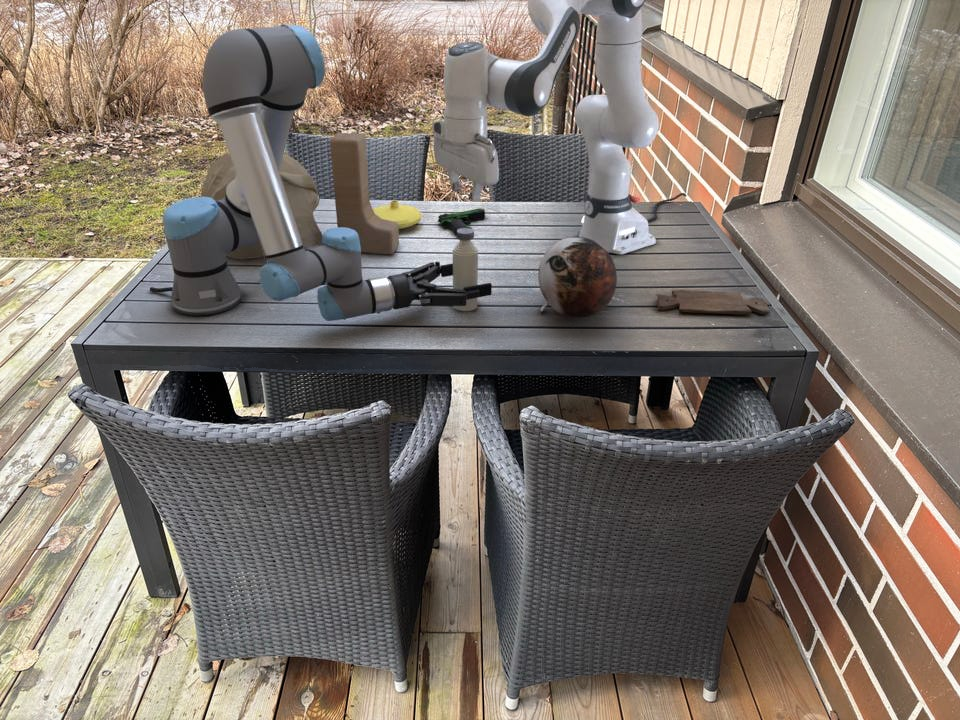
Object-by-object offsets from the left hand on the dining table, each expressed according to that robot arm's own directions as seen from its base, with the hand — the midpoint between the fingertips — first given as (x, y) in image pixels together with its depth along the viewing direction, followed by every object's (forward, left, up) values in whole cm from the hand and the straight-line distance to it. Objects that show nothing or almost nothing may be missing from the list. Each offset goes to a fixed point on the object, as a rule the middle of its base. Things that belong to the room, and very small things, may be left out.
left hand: (478, 277), depth 164 cm
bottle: (-3, -1, -7) cm, 7 cm away
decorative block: (-30, +32, -7) cm, 45 cm away
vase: (-25, +51, -7) cm, 57 cm away
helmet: (-58, +33, -7) cm, 67 cm away
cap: (-3, -1, +11) cm, 12 cm away
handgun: (-4, +51, -7) cm, 52 cm away
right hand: (-3, -1, +20) cm, 20 cm away
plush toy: (+22, -4, -7) cm, 23 cm away
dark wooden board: (+55, 0, -7) cm, 55 cm away
